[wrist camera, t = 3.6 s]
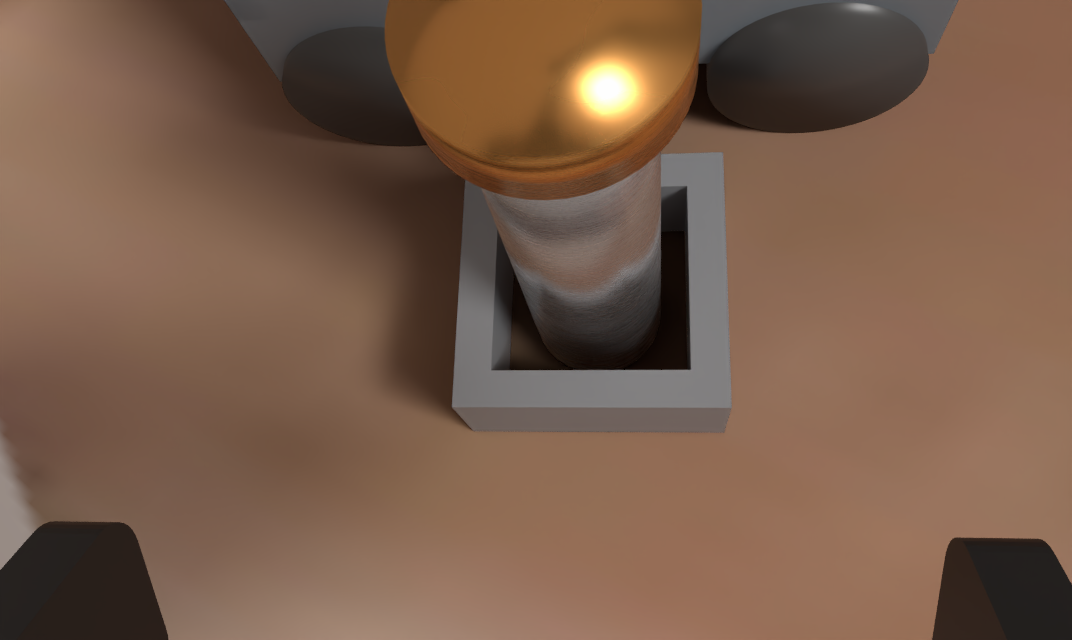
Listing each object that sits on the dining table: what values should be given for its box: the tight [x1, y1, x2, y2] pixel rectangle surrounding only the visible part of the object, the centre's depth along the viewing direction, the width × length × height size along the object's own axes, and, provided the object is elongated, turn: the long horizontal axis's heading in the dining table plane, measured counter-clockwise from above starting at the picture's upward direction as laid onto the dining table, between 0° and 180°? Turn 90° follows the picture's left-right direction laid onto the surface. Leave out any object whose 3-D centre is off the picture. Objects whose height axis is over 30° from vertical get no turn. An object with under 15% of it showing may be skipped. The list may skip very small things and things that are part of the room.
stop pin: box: [385, 0, 702, 370], centre depth 18 cm, size 4×4×12 cm
